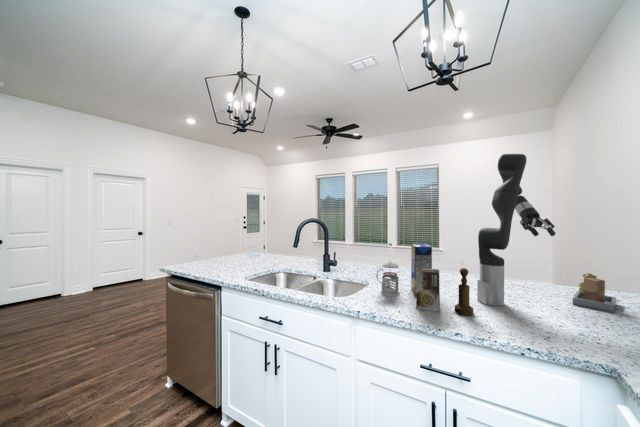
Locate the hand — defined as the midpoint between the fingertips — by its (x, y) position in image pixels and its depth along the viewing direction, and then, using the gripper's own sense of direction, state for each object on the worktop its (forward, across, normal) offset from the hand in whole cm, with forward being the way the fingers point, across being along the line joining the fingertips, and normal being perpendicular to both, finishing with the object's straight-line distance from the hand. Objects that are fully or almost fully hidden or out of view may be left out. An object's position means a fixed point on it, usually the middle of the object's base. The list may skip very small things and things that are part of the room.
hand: (545, 235), depth 131 cm
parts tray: (+32, +7, +8) cm, 34 cm away
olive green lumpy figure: (+22, +20, +18) cm, 35 cm away
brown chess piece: (+37, -55, +4) cm, 66 cm away
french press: (+19, -78, +22) cm, 83 cm away
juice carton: (+20, -62, +21) cm, 68 cm away
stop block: (+31, +7, +8) cm, 33 cm away
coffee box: (+33, -67, +8) cm, 75 cm away
